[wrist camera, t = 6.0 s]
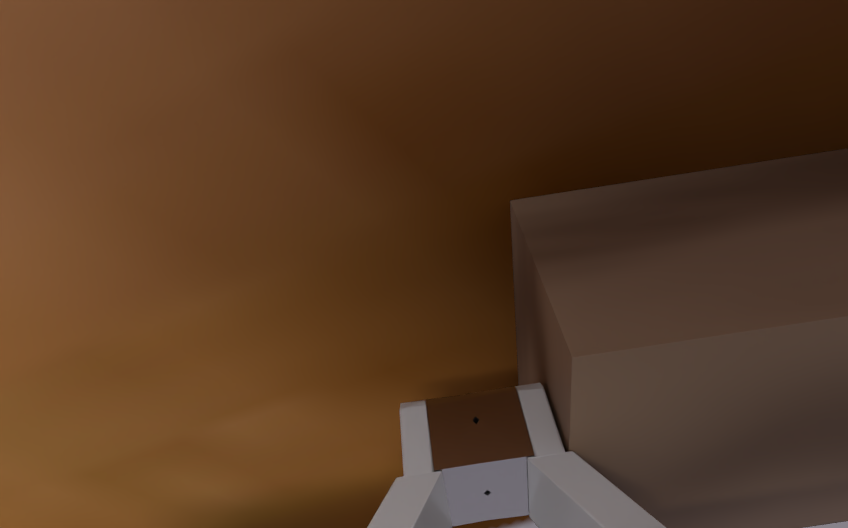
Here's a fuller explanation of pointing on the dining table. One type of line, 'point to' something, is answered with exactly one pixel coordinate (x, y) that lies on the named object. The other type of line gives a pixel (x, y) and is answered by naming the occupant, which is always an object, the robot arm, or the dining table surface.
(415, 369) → the dining table surface
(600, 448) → the walnut block
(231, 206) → the dining table surface
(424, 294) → the dining table surface
